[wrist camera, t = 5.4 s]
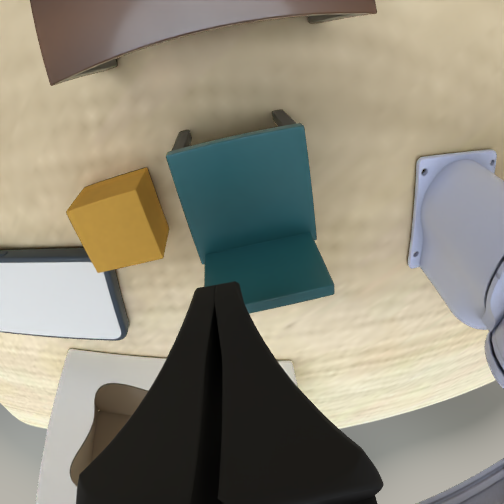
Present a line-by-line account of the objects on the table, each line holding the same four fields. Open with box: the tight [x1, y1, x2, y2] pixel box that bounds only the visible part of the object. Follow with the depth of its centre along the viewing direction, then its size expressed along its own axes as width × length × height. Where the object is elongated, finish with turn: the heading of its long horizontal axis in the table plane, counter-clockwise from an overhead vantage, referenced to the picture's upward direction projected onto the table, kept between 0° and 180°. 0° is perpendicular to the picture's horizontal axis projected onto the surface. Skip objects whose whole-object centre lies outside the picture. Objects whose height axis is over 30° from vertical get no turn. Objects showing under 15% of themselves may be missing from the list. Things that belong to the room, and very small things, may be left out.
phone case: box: [0, 248, 129, 340], centre depth 21 cm, size 9×2×16 cm
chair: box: [166, 110, 334, 313], centre depth 15 cm, size 6×6×8 cm
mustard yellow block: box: [66, 168, 169, 273], centre depth 18 cm, size 4×4×3 cm
